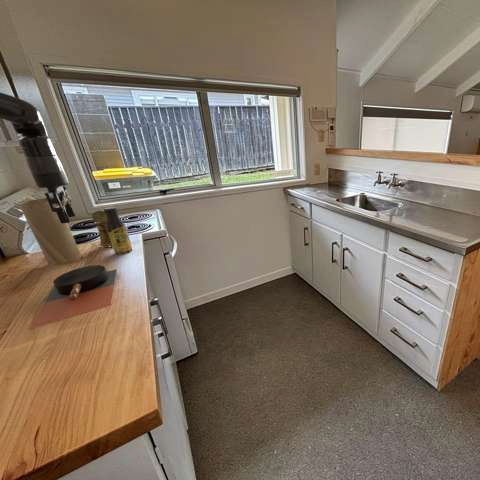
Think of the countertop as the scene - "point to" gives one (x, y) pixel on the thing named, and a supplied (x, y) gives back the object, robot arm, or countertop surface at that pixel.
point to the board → (75, 303)
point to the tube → (50, 232)
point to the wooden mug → (102, 228)
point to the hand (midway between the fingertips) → (68, 219)
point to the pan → (80, 280)
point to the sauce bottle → (117, 232)
